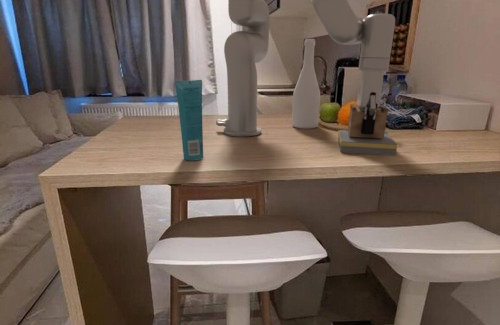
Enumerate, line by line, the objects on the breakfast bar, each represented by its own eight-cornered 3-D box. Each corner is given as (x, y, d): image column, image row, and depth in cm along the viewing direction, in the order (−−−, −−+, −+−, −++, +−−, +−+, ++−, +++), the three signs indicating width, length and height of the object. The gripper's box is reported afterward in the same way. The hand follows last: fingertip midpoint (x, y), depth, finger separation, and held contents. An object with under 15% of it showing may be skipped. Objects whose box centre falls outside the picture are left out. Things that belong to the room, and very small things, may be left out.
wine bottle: (297, 129, 114) (302, 38, 104) (288, 124, 122) (291, 39, 113) (322, 128, 116) (329, 38, 106) (311, 123, 125) (317, 39, 115)
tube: (198, 153, 86) (194, 78, 80) (210, 156, 83) (208, 79, 77) (175, 159, 81) (169, 80, 75) (187, 163, 78) (183, 81, 72)
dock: (339, 152, 88) (340, 141, 87) (337, 139, 101) (338, 129, 100) (395, 155, 85) (397, 144, 84) (385, 142, 99) (386, 132, 98)
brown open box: (349, 136, 90) (352, 107, 88) (347, 131, 96) (350, 104, 94) (383, 138, 88) (388, 109, 86) (379, 133, 95) (383, 105, 92)
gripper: (355, 63, 95) (349, 124, 101) (363, 65, 79) (354, 137, 85) (382, 64, 94) (374, 125, 99) (395, 66, 78) (384, 139, 83)
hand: (365, 130), depth 92 cm, fingers closed on brown open box, 6 cm apart
